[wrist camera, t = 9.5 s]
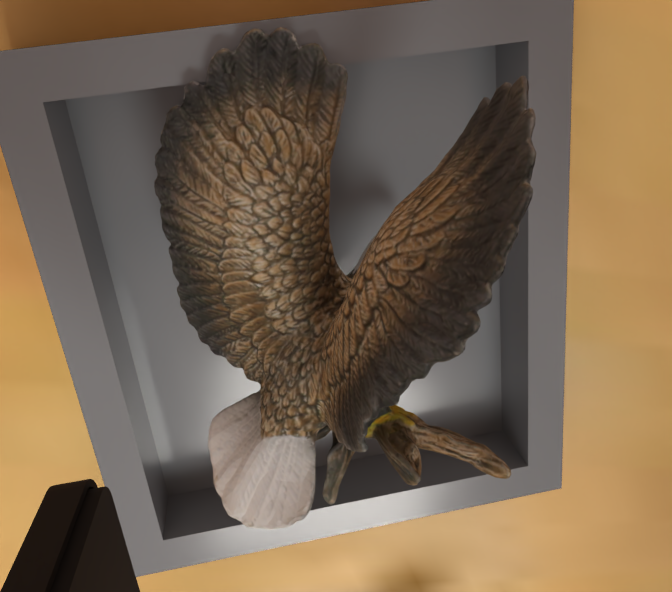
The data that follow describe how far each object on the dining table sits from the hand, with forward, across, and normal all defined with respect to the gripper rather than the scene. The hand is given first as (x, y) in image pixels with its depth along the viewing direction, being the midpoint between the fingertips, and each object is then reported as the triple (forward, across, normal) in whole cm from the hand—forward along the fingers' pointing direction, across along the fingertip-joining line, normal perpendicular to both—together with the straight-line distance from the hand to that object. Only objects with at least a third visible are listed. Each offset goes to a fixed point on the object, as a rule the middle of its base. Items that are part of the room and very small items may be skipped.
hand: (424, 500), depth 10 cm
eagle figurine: (+7, +1, -3) cm, 7 cm away
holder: (+8, +1, -1) cm, 8 cm away
